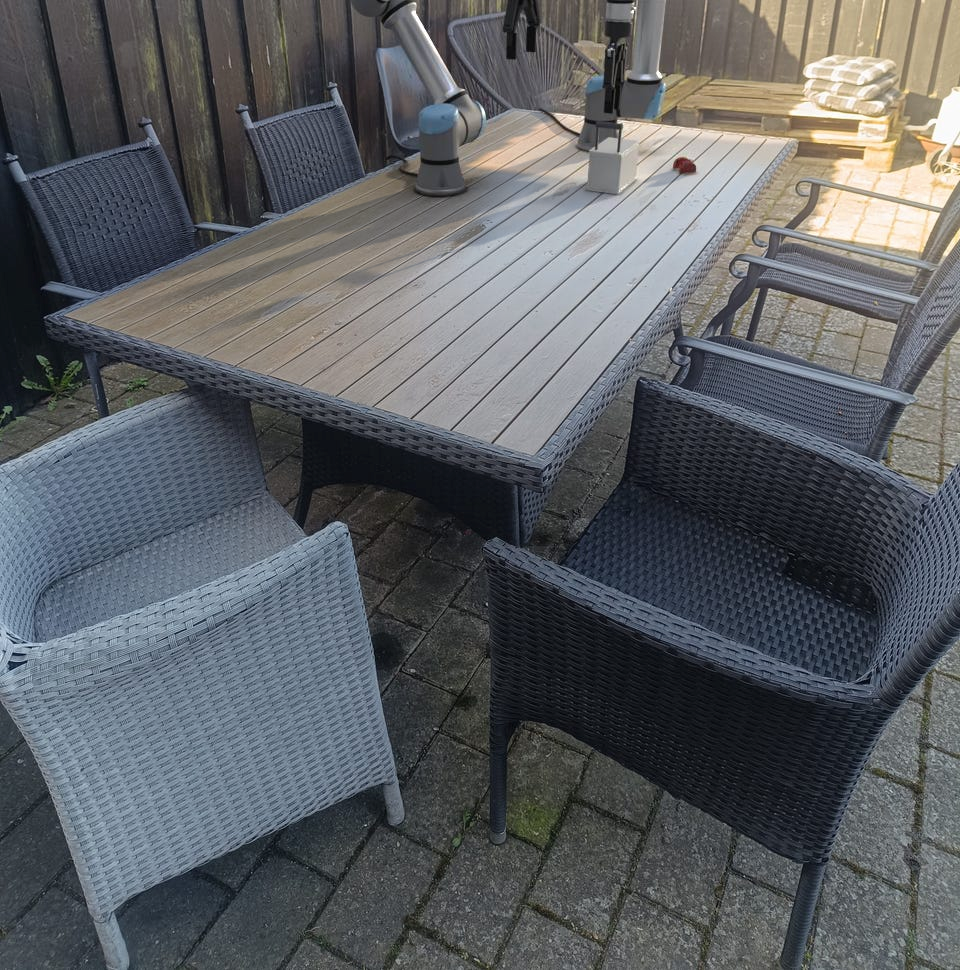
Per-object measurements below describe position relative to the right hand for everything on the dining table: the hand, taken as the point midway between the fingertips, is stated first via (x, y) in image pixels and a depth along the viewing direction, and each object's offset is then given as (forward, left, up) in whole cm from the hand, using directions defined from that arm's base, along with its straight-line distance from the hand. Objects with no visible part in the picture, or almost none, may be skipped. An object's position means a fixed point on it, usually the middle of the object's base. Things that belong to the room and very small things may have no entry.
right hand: (611, 110), depth 245 cm
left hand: (-3, -27, +14) cm, 30 cm away
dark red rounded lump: (-22, +28, -23) cm, 42 cm away
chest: (-6, +3, -23) cm, 24 cm away
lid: (-5, +2, -12) cm, 13 cm away
